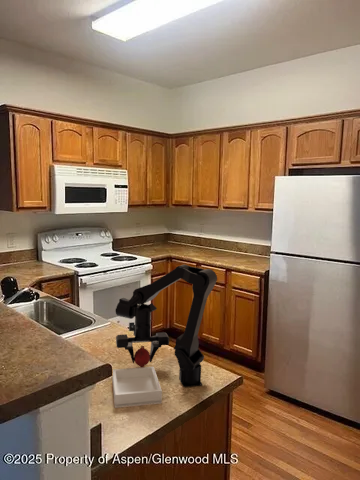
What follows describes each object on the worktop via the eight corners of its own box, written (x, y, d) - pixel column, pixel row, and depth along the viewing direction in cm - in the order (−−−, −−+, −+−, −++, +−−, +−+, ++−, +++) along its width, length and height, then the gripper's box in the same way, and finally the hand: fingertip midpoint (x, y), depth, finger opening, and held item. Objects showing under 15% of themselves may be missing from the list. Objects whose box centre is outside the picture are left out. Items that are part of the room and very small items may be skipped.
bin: (153, 377, 126) (153, 366, 126) (161, 403, 111) (161, 390, 110) (112, 380, 123) (112, 369, 122) (114, 407, 107) (115, 395, 107)
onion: (147, 371, 130) (147, 350, 129) (131, 369, 131) (132, 348, 130) (151, 364, 135) (152, 343, 134) (136, 362, 136) (137, 342, 135)
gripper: (164, 312, 141) (163, 351, 143) (115, 314, 137) (114, 354, 138) (170, 322, 130) (168, 364, 132) (117, 325, 126) (116, 368, 128)
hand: (141, 362), depth 133 cm, fingers closed on onion, 6 cm apart
